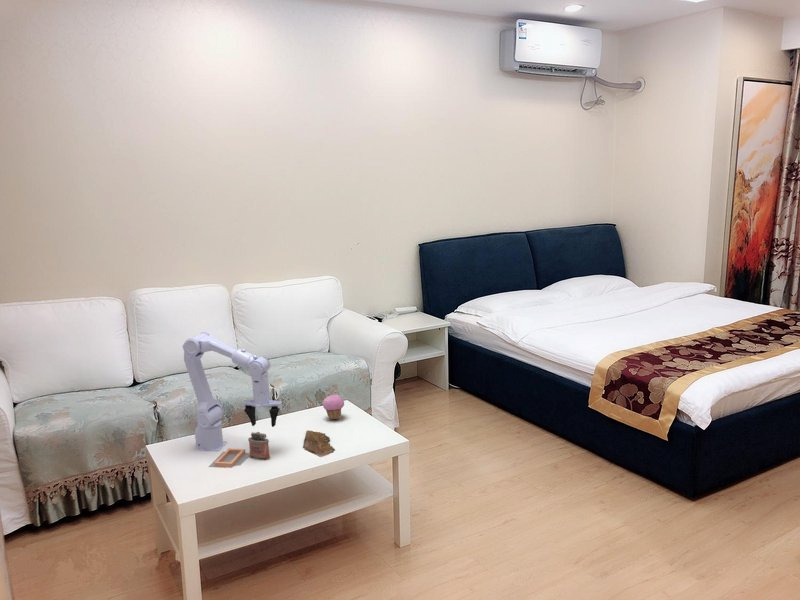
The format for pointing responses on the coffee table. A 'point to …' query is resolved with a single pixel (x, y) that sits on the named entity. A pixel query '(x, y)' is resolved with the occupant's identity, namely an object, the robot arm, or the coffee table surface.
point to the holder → (230, 458)
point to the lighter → (259, 446)
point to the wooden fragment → (317, 443)
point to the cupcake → (333, 406)
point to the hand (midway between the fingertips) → (263, 425)
